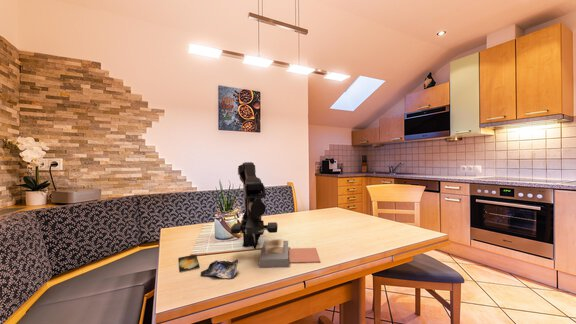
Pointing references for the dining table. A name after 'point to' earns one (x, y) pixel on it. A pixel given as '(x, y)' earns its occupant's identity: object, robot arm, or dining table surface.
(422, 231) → the dining table surface
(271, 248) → the birch tile
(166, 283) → the dining table surface
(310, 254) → the terracotta mat
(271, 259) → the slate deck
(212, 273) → the snack package
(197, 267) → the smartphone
